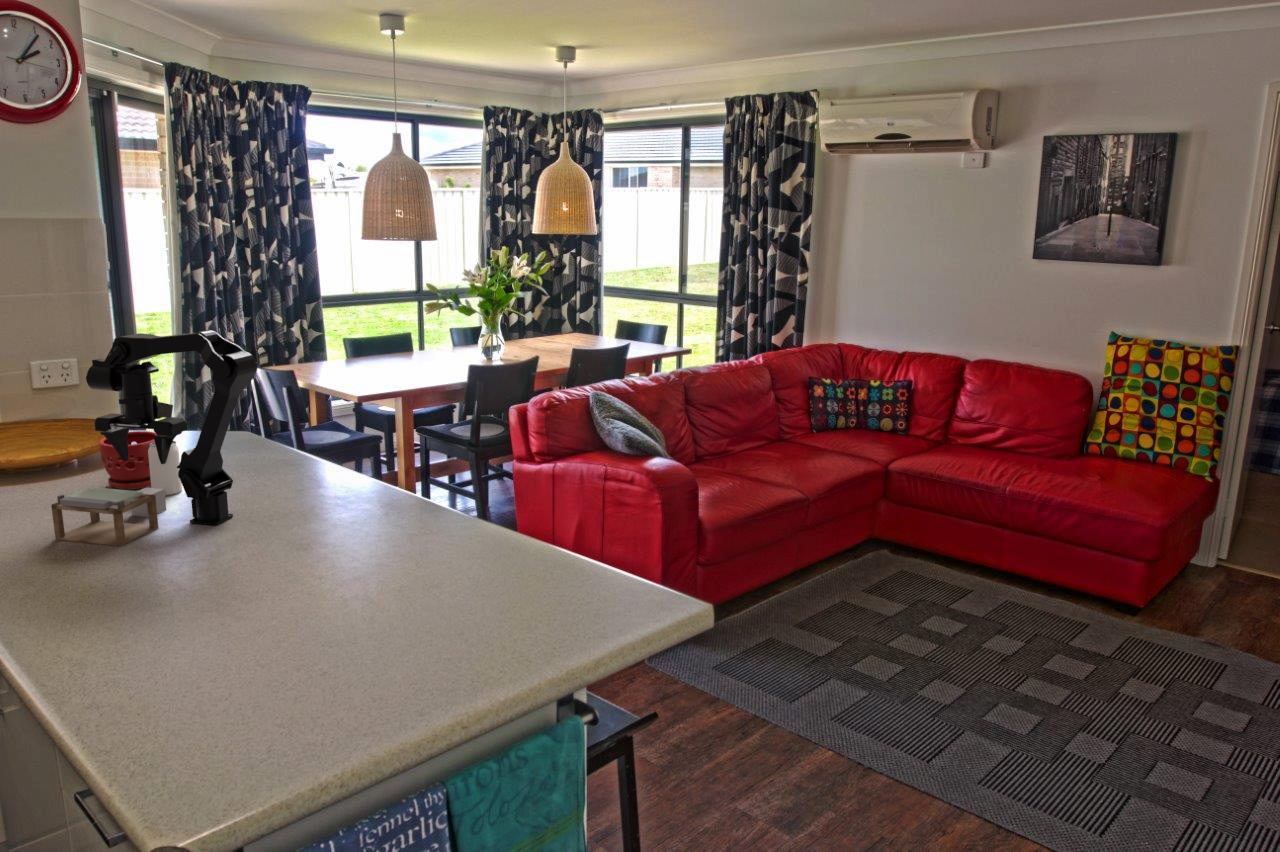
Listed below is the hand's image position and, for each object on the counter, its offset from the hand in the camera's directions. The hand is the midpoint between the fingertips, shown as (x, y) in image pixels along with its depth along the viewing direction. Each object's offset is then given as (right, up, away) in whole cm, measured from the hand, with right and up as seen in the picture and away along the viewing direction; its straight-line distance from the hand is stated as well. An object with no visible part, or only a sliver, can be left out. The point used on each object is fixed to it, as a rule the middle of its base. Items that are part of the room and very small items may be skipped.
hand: (144, 462), depth 207 cm
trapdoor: (-2, -7, -14) cm, 16 cm away
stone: (0, -11, +3) cm, 12 cm away
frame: (-2, -14, -11) cm, 18 cm away
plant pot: (-14, -7, +22) cm, 27 cm away
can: (-4, -8, +17) cm, 19 cm away
